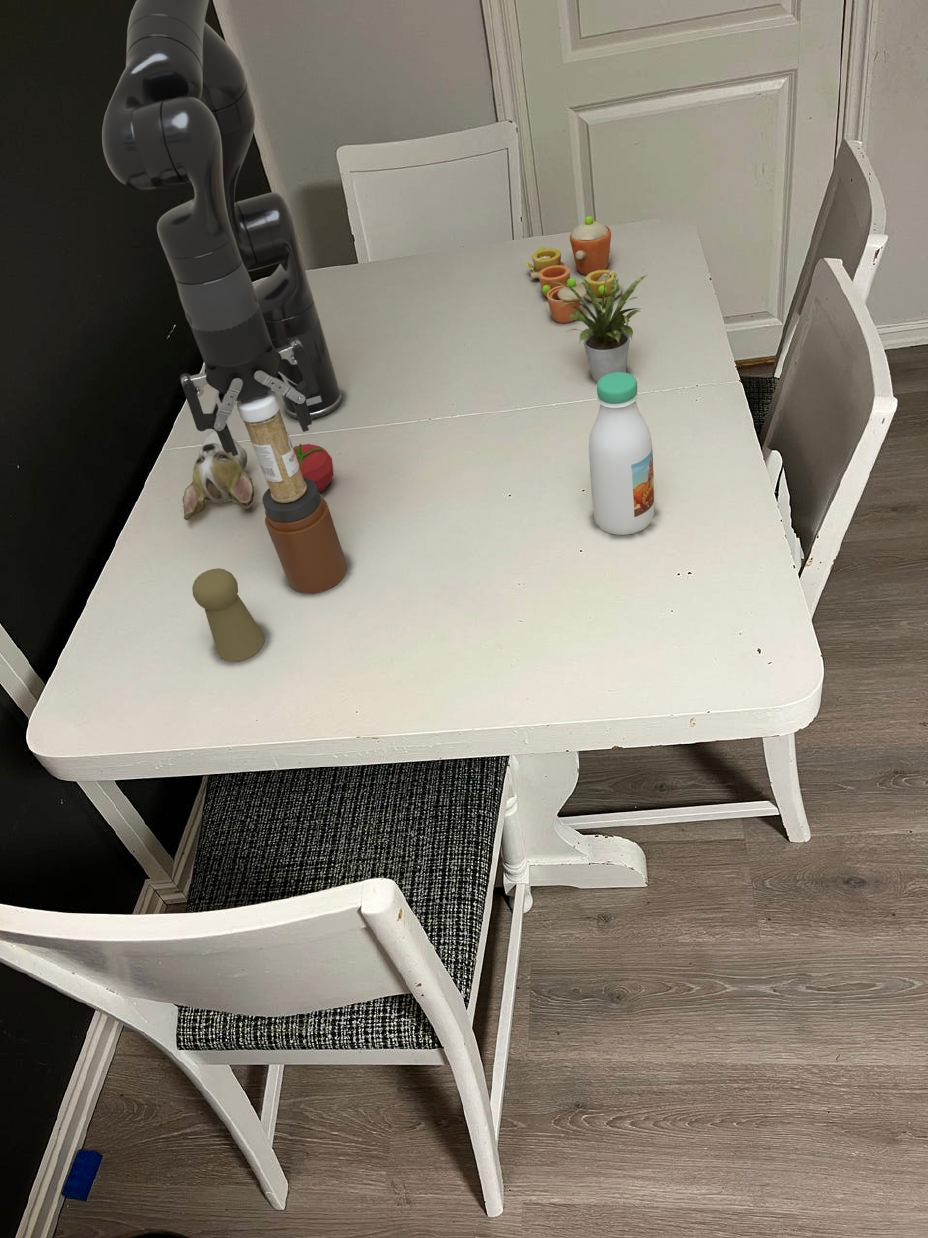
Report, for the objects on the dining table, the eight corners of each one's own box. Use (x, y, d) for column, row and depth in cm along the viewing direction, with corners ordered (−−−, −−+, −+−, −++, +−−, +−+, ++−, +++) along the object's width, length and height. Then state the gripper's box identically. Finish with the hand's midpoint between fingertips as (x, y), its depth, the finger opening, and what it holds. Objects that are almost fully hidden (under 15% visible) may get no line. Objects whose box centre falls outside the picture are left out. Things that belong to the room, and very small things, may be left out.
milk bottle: (616, 545, 119) (607, 407, 105) (582, 514, 124) (570, 380, 110) (666, 520, 120) (664, 381, 107) (631, 491, 126) (625, 356, 112)
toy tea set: (525, 267, 180) (519, 216, 173) (606, 252, 179) (603, 200, 172) (545, 331, 161) (539, 277, 154) (636, 314, 160) (634, 258, 153)
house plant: (542, 397, 146) (530, 297, 135) (569, 351, 155) (560, 254, 143) (633, 403, 141) (629, 300, 129) (656, 355, 149) (653, 255, 138)
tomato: (340, 498, 135) (326, 453, 130) (287, 510, 135) (271, 466, 130) (336, 467, 141) (323, 423, 136) (285, 479, 141) (270, 436, 136)
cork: (219, 631, 119) (188, 565, 111) (266, 622, 119) (237, 556, 111) (214, 665, 115) (181, 600, 107) (263, 657, 114) (233, 590, 107)
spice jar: (314, 492, 115) (281, 396, 105) (280, 509, 113) (245, 413, 104) (297, 477, 118) (264, 381, 108) (265, 493, 116) (229, 397, 107)
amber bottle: (282, 566, 126) (251, 487, 118) (338, 545, 128) (312, 466, 119) (295, 601, 121) (264, 522, 112) (354, 580, 122) (328, 499, 113)
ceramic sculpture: (246, 411, 140) (238, 474, 129) (265, 457, 146) (259, 521, 136) (177, 424, 140) (163, 488, 130) (198, 470, 147) (187, 534, 136)
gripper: (280, 276, 102) (320, 406, 114) (152, 317, 100) (205, 444, 112) (296, 303, 97) (335, 435, 108) (161, 346, 95) (215, 476, 106)
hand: (269, 440), depth 110 cm, fingers open, 8 cm apart
